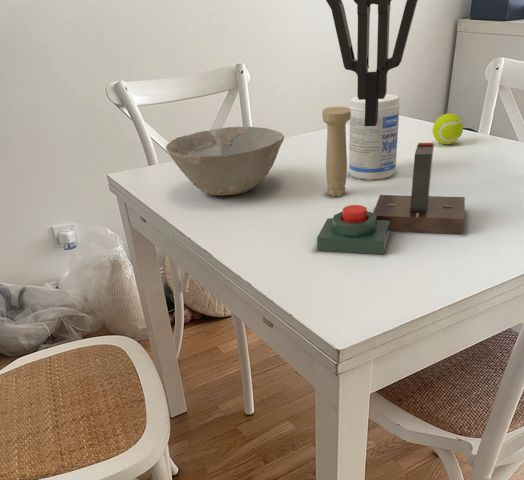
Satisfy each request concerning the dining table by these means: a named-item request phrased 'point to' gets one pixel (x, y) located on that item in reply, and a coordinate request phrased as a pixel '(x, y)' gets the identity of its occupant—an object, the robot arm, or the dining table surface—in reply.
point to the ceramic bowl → (226, 158)
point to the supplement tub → (374, 139)
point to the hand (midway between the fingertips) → (371, 123)
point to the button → (354, 213)
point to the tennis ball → (448, 128)
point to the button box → (354, 235)
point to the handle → (336, 148)
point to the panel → (422, 214)
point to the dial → (421, 177)
